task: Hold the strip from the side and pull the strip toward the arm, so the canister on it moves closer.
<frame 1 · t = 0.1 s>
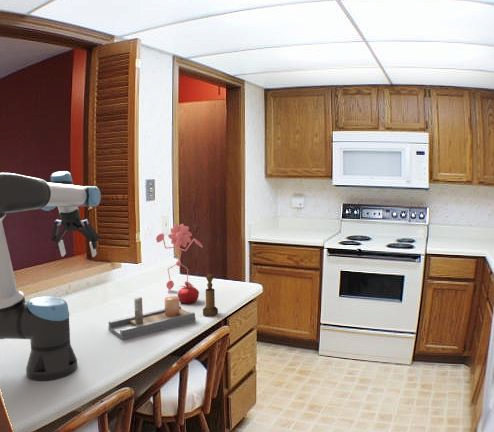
hand: (79, 255, 197), 28 cm above the counter, tool tilted 20°, fingers open, 13 cm apart
strip: (161, 306, 192), point 7 cm above the counter, slide at 0.0 cm, touching canister
pomegranate: (188, 302, 223), on the counter
track: (153, 325, 191), on the counter
brown tall piece: (210, 314, 204), on the counter
canister: (172, 314, 196), point 3 cm above the counter, touching strip
pink branching stem figurine: (182, 290, 243), on the counter
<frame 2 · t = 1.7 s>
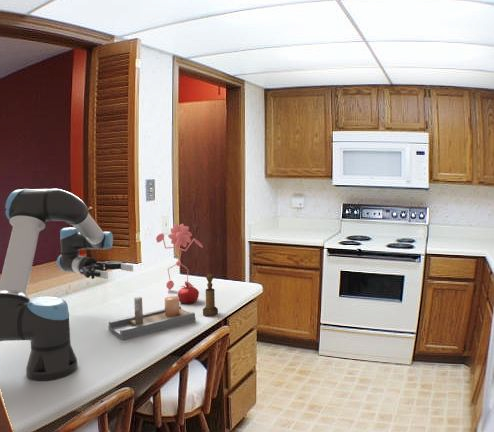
hand: (120, 271, 189), 22 cm above the counter, tool horizontal, fingers open, 13 cm apart
nothing on the counter moved.
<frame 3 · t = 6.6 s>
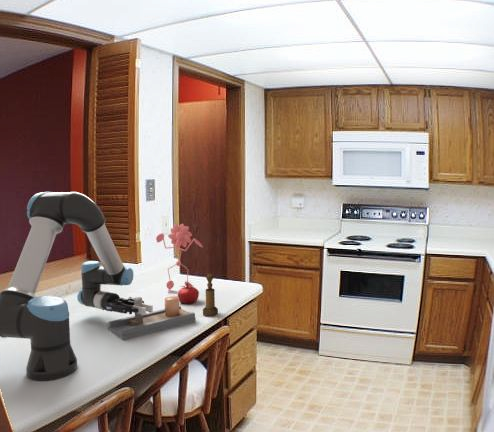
hand: (148, 310, 183), 9 cm above the counter, tool horizontal, fingers closed on strip, 3 cm apart
strip: (161, 306, 192), point 7 cm above the counter, slide at 0.0 cm, touching canister, gripper
everything else where it was.
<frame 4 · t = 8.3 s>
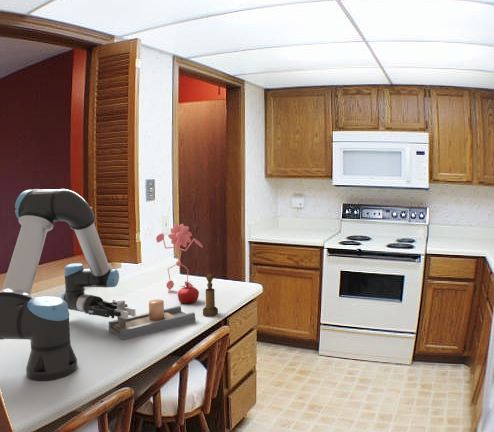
hand: (131, 313, 179), 9 cm above the counter, tool horizontal, fingers closed on strip, 3 cm apart
strip: (145, 310, 188), point 7 cm above the counter, slide at 7.2 cm, touching canister, gripper
canister: (156, 318, 191), point 3 cm above the counter, touching strip
everything else where it was.
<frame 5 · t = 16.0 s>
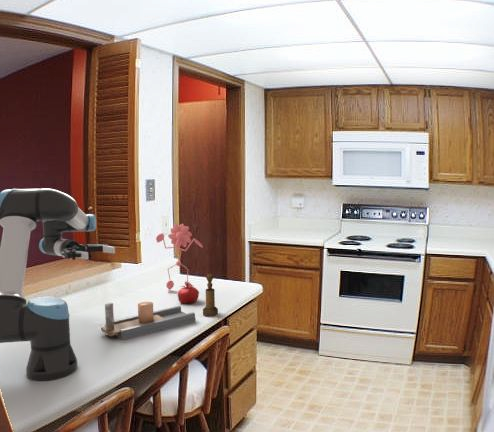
hand: (101, 253, 189), 30 cm above the counter, tool horizontal, fingers open, 13 cm apart
strip: (134, 312, 185), point 7 cm above the counter, slide at 12.0 cm, touching canister
canister: (146, 320, 188), point 3 cm above the counter, touching strip
everything else where it was.
at the end: strip slide at 12.0 cm; canister inside the target area (0.5 cm from its centre), point 2.7 cm above the counter; canister tilted 0° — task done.
